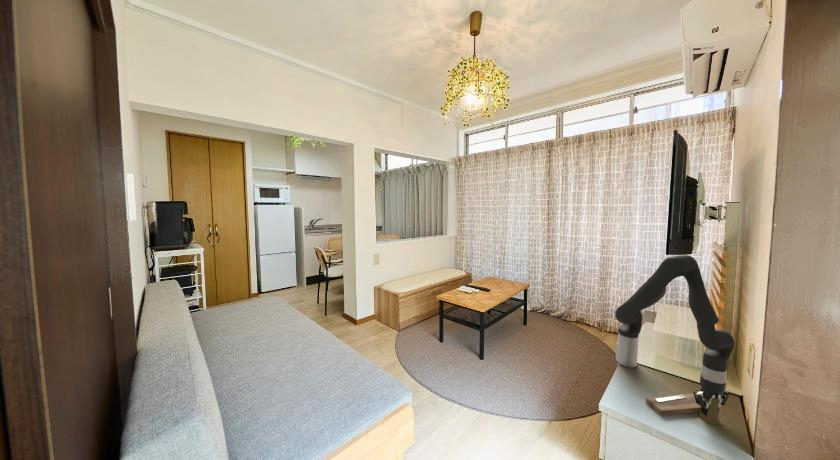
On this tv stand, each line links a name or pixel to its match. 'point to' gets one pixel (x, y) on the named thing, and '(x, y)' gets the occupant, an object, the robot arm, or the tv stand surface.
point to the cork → (711, 412)
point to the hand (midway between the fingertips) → (709, 413)
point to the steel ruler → (670, 398)
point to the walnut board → (674, 405)
